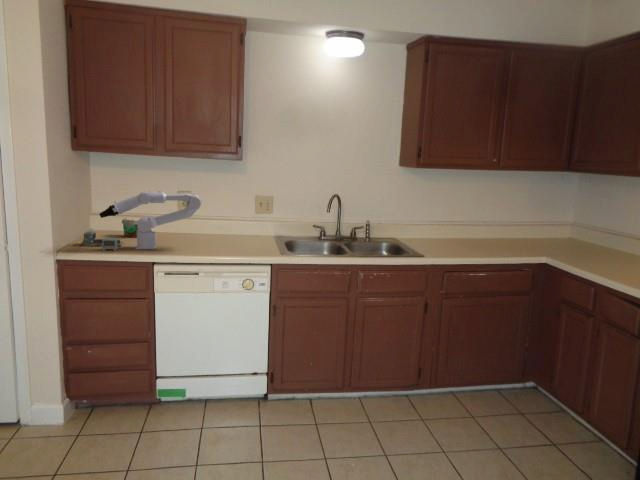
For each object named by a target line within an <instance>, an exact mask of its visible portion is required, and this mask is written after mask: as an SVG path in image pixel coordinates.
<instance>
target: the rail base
mask: <svg viewBox="0 0 640 480" xmlns="http://www.w3.org/2000/svg"><path fill="white" fill-rule="evenodd" d="M96 234H97V233H96V231H92V230H91V231H88V230H87V231H85V232H84V233H83V239H82V242H81V243H79V247H99V248H100V247H101V248H102V240H103V239H104V238H97V235H96ZM124 243H125V242H124V241H121V239H119V238H117V244H118V248H121V247H122V246H123V245H124Z"/></svg>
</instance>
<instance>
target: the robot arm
mask: <svg viewBox="0 0 640 480" xmlns="http://www.w3.org/2000/svg"><path fill="white" fill-rule="evenodd" d="M166 201H170V202H171V201H172V202H173V201H182V202H184V203H185V204H186V205H185V208H184V209H183V208H182V209H179V210H176V211H172V212H169V213H165V214H161V215H157V216H150V217H146V216H145V217H140V218H139V220H137V221H138V225H137V227H138V230H137V238H136V247H135V250H155V249H156V248H157V232H156V231H153V230H152V229H153V228H154V229H155V228H156V227H158V226H162V225H165V224H170V223H173V222H176V221H180V220H184V219H188V218H191V217H192V216H193V215H194V214H195V213H196V212H197V211H198V210H200V207H201V205H202V199H201V197H200V196H199V195H198V194H196V193H168V194H166V193H165V192H163V191H161V190H157V191H148V192H146V191H141V192H140V193H139V194H136V195H133V196H131V197H127V198H126V199H124V200H121V201H118V202H117V201H116V200H115V201H113V202H114V204H112V205H109V206H108V207H107V208H106V209H105V210H103V211H101V212H100V213H99V217H100V218H101V219H104V218H107V217H116V215H122V214H123V213H126V212H128V211H131V210H133V209H135V208H138V207H139V206H142V205H148V204H149V203H150V204H164V203H166Z"/></svg>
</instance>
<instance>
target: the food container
mask: <svg viewBox="0 0 640 480" xmlns="http://www.w3.org/2000/svg"><path fill="white" fill-rule="evenodd" d="M138 221H139V220H134V219H133V220H132V219H131V220H129V219H127V217H126V218H125V217H124V218H122V220H121V224H122V227H123V236H124V238H126V237H127V238H126V239H137V230H138V227H137V225H138Z"/></svg>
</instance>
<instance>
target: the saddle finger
mask: <svg viewBox="0 0 640 480" xmlns="http://www.w3.org/2000/svg"><path fill="white" fill-rule="evenodd" d="M102 239H103V240H102V247H101V248H102V251H104V252H105V251H106V250H107V248H113V251H114V252H117V250H118V248H119V247H118V244H117V239H118V238H110V237H107V238H105V237H104V238H102Z"/></svg>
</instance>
